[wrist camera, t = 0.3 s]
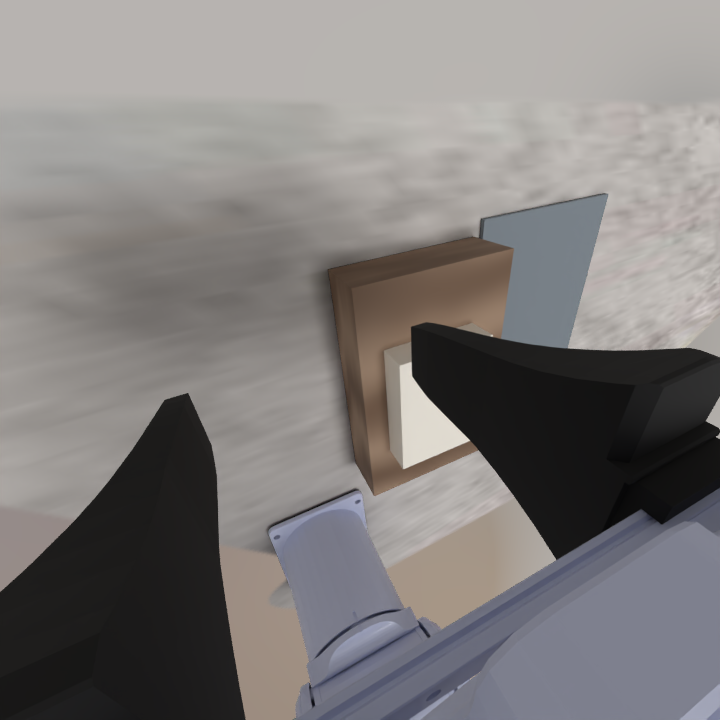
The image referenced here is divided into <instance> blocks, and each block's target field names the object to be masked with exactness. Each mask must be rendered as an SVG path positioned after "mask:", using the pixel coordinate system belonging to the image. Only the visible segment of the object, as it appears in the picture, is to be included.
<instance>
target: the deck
mask: <svg viewBox="0 0 720 720" xmlns="http://www.w3.org/2000/svg"><path fill="white" fill-rule="evenodd" d="M513 253H514V248H511V247H508V246H504V245H501V244H497V243H494V242H490V241H487V240H483V239H480V238H476V237H470V238H466V239H462V240H457V241H453V242H448V243H444V244H439V245H435V246H430V247H426V248H421V249H417V250H413V251H408V252H404V253H399V254H395V255H390V256H386V257H381V258H377V259H372V260H368V261H364V262H359V263H355V264H350V265H346V266H341V267H337V268H332V269H328V273H329V280H330V287H331V294H332V301H333V308H334V314H335V321H336V328H337V335H338V342H339V349H340V356H341V363H342V370H343V377H344V384H345V391H346V398H347V405H348V412H349V419H350V426H351V433H352V440H353V447H354V454H355V461H356V464H357V466H358V468H359V470H360V471H361V473H362V475H363V477H364V479H365V480H366V482H367V484H368V486H369V488H370V489H371V491H372V493H373V495H374V496H376V495H378V494H381V493H383V492H385V491H388V490H390V489H392V488H394V487H397V486H399V485H401V484H403V483H406V482H408V481H410V480H412V479H415V478H417V477H419V476H421V475H424V474H426V473H428V472H430V471H433V470H435V469H437V468H439V467H442V466H444V465H446V464H448V463H451V462H453V461H455V460H457V459H460V458H462V457H464V456H466V455H469V454H471V453H473V452H475V451H478V449H477V448H476V447H475V446H474V444H473V443H472V442H471V441H468V442H466V443H464V444H461V445H459V446H457V447H454V448H452V449H450V450H447V451H445V452H443V453H440V454H438V455H436V456H433V457H431V458H429V459H426V460H424V461H422V462H419V463H417V464H415V465H413V466H410V467H408V468H406V469H403V468H402V467H401V465H400V464H399V462H398V461H397V460H396V458H395V457H394V455H393V454H392V452H391V451H390V439H389V423H388V408H387V392H386V376H385V360H384V350H387V349H390V348H393V347H396V346H399V345H403V344H406V343H409V342H411V327H412V326H415V325H418V324H422V323H425V322H430V323H436V324H441V325H445V326H450V327H454V328H457V327H460V326H464V325H467V324H470V323H473V324H475V325H477V326H478V327H480V328H482V329H484V330H485V331H487V332H489V333H490V334H492V335H493V337H495V338H500V339H501V335H502V329H503V322H504V315H505V308H506V301H507V294H508V287H509V280H510V273H511V267H512V260H513Z"/></svg>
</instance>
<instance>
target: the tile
mask: <svg viewBox="0 0 720 720" xmlns="http://www.w3.org/2000/svg"><path fill="white" fill-rule="evenodd" d="M457 328H458V329H462V330H466V331H470V332H474V333H478V334H482V335H486V336H491V337H493V335H492V334H490V333H489V332H487V331H485V330H484V329H482V328H480V327H478V326H477V325H475V324H473V323H470V324H467V325H464V326H460V327H457ZM384 360H385V376H386V392H387V408H388V423H389V439H390V451H391V452H392V454H393V455H394V457H395V458H396V460H397V461H398V462H399V464H400V465H401V467H402V468H403V469H406V468H408V467H410V466H413V465H415V464H417V463H419V462H422V461H424V460H426V459H429V458H431V457H433V456H436V455H438V454H440V453H443V452H445V451H447V450H450V449H452V448H454V447H457V446H459V445H461V444H464V443H466V442H468V441H470V440H469V439H468V438H467V437H466V436H465V435H464V434H463V433H462V432H461V431H460V430H459V429H458V428H457V427H456V426H455V425H454V424H453V423H452V422H451V421H450V420H449V419H448V418H447V417H446V416H445V415H444V414H443V413H442V412H441V411H440V410H439V409H438V408H437V407H436V406H435V405H434V404H433V403H432V402H431V401H430V400H429V398H428V397H427V396H426V395H425V394H424V392H423V391H422V390H421V388H420V387H419V386H418V384H417V383H416V381H415V380H414V378H413V377H412V358H411V342H409V343H406V344H403V345H399V346H396V347H393V348H390V349H387V350H384Z"/></svg>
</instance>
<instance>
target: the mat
mask: <svg viewBox="0 0 720 720" xmlns="http://www.w3.org/2000/svg"><path fill="white" fill-rule="evenodd" d="M607 198H608V194H600V195H595V196H590V197H585V198H581V199H576V200H571V201H566V202H561V203H556V204H552V205H547V206H542V207H537V208H532V209H528V210H523V211H518V212H513V213H508V214H504V215H499V216H494V217H489V218H484V219H481V230H480V239H483V240H487V241H490V242H494V243H497V244H501V245H504V246H508V247H511V248H514V253H513V260H512V267H511V273H510V280H509V287H508V294H507V301H506V308H505V315H504V322H503V329H502V335H501V339H505V340H510V341H515V342H520V343H526V344H533V345H541V346H548V347H557V348H568V344H569V340H570V336H571V333H572V329H573V325H574V321H575V318H576V314H577V310H578V306H579V303H580V299H581V295H582V291H583V288H584V284H585V280H586V276H587V273H588V269H589V265H590V261H591V258H592V254H593V250H594V247H595V243H596V239H597V235H598V232H599V228H600V224H601V220H602V217H603V213H604V209H605V205H606V202H607Z"/></svg>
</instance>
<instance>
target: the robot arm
mask: <svg viewBox="0 0 720 720" xmlns="http://www.w3.org/2000/svg"><path fill="white" fill-rule="evenodd" d="M411 358H412V377H413V378H414V380H415V381H416V383H417V384H418V386H419V387H420V388H421V390H422V391H423V392H424V394H425V395H426V396H427V397H428V398H429V400H430V401H431V402H432V403H433V404H434V405H435V406H436V407H437V408H438V409H439V410H440V411H441V412H442V413H443V414H444V415H445V416H446V417H447V418H448V419H449V420H450V421H451V422H452V423H453V424H454V425H455V426H456V427H457V428H458V429H459V430H460V431H461V432H462V433H463V434H464V435H465V436H466V437H467V438H468V439H469V440H470V441H471V442H472V443H473V444H474V446H475V447H476V448H477V449H478V450H479V451H480V452H481V454H482V455H483V456H484V457H485V459H486V460H487V461H488V462H489V464H490V465H491V466H492V467H493V469H494V470H495V471H496V473H497V474H498V475H499V477H500V478H501V479H502V481H503V482H504V483H505V485H506V486H507V487H508V489H509V490H510V491H511V493H512V494H513V495H514V497H515V498H516V500H517V501H518V502H519V504H520V505H521V507H522V508H523V509H524V511H525V513H526V514H527V515H528V517H529V518H530V520H531V521H532V523H533V524H534V526H535V527H536V529H537V530H538V532H539V533H540V535H541V536H542V538H543V539H544V541H545V542H546V544H547V546H548V547H549V549H550V550H551V552H552V553H553V555H554V557H555V558H556V561H554V562H553V563H551V564H549V565H548V566H546V567H544V568H543V569H541V570H540V571H538V572H536V573H535V574H533V575H531V576H530V577H528V578H526V579H525V580H523V581H521V582H520V583H518V584H516V585H515V586H513V587H511V588H510V589H508V590H506V591H505V592H503V593H502V594H500V595H498V596H497V597H495V598H493V599H492V600H490V601H488V602H487V603H485V604H483V605H482V606H480V607H478V608H477V609H475V610H473V611H472V612H470V613H468V614H467V615H465V616H463V617H462V618H460V619H459V620H457V621H455V622H453V623H452V624H450V625H449V626H447V627H445V628H444V629H441V628H440V627H439V626H438V625H437V624H436V623H434V622H432V621H430V620H429V619H427V618H425V617H421V618H420V619H418V620H417V619H416V618H415V615H414V613H413V611H412V609H411V607H407V608H405V609H404V606H403V604H402V602H401V600H400V598H399V596H398V594H397V592H396V590H395V588H394V586H393V584H392V582H391V580H390V578H389V576H388V574H387V571H386V569H385V567H384V565H383V563H382V561H381V559H380V557H379V555H378V553H377V551H376V549H375V547H374V545H373V543H372V541H371V538H370V536H369V534H368V532H367V526H366V519H365V511H364V504H363V497H362V494H361V492H360V491H354V492H352V493H349V494H347V495H345V496H342V497H340V498H338V499H335V500H333V501H331V502H328V503H326V504H324V505H321V506H319V507H317V508H314V509H312V510H310V511H308V512H305V513H303V514H301V515H298V516H296V517H294V518H291V519H289V520H287V521H284V522H282V523H280V524H277V525H275V526H273V527H271V528H270V529H269V531H268V533H269V537H270V539H271V542H272V544H273V547H274V549H275V551H276V554H277V556H278V559H279V561H280V564H281V566H282V569H283V571H284V574H285V576H286V578H287V581H288V583H289V586H290V588H291V590H292V594H293V598H294V602H295V606H296V610H297V614H298V618H299V622H300V626H301V631H302V635H303V639H304V643H305V647H306V651H307V655H308V659H309V663H308V664H307V669H308V674H309V678H310V682H311V685H310V683H307V684H305V685H303V686H302V687H301V689H300V695H299V697H298V700H297V702H296V718H295V719H293V720H720V439H718V438H716V436H718V435H719V433H720V429H719V428H718V427H716V426H714V425H712V424H710V423H708V422H706V419H707V418H708V416H709V414H710V412H711V411H712V409H713V407H714V406H715V404H716V402H717V400H718V398H719V397H720V357H717V356H715V355H712V354H709V353H707V352H704V351H701V350H697V349H692V348H679V349H660V350H638V351H608V350H583V349H568V348H557V347H548V346H541V345H533V344H526V343H520V342H515V341H510V340H505V339H500V338H495V337H491V336H486V335H482V334H478V333H474V332H470V331H466V330H462V329H458V328H454V327H450V326H445V325H441V324H436V323H430V322H425V323H422V324H418V325H415V326H412V327H411ZM230 634H231V633H230V627H229V621H228V614H227V608H226V601H225V594H224V587H223V580H222V573H221V565H220V554H219V533H218V498H217V474H216V468H215V462H214V456H213V451H212V445H211V443H210V441H209V439H208V436H207V434H206V432H205V430H204V427H203V425H202V423H201V421H200V419H199V416H198V414H197V412H196V410H195V407H194V405H193V403H192V401H191V399H190V396H189V394H188V393H186V394H183V395H180V396H176V397H173V398H170V399H166V400H164V402H163V403H162V405H161V406H160V408H159V410H158V411H157V413H156V414H155V416H154V417H153V419H152V421H151V422H150V424H149V425H148V427H147V428H146V430H145V432H144V433H143V435H142V436H141V438H140V439H139V441H138V442H137V444H136V445H135V447H134V448H133V450H132V451H131V452H130V454H129V455H128V456H127V458H126V459H125V460H124V462H123V463H122V464H121V466H120V467H119V468H118V470H117V471H116V472H115V474H114V475H113V476H112V478H111V479H110V480H109V482H108V483H107V484H106V485H105V487H104V488H103V489H102V490H101V491H100V493H99V494H98V495H97V496H96V497H95V499H94V500H93V501H92V502H91V503H90V504H89V505H88V506H87V508H86V509H85V510H84V511H83V512H82V513H81V514H80V515H79V516H78V518H77V519H76V520H75V521H74V522H73V523H72V524H71V525H70V526H69V527H68V528H67V529H66V530H65V531H64V532H63V533H62V534H61V535H60V536H59V537H58V538H57V539H56V540H55V541H54V542H53V543H52V544H51V545H50V546H49V547H48V548H47V549H46V550H45V551H44V552H43V553H42V554H41V555H40V556H39V557H38V558H37V559H36V560H35V561H34V562H33V563H32V564H31V565H30V566H28V567H27V568H26V569H25V570H24V571H23V572H22V573H21V574H20V575H19V576H18V577H17V578H15V580H13V581H12V582H11V583H10V584H9V585H8V586H7V587H5V588H4V589H3V590H2V591H1V592H0V720H245V714H244V709H243V703H242V698H241V692H240V687H239V681H238V675H237V669H236V664H235V658H234V653H233V646H232V641H231V635H230ZM479 672H480V673H479ZM478 673H479V674H478ZM476 674H477V675H476ZM474 675H476V676H475V677H473V676H474ZM471 677H473V678H472V679H471V680H470V678H471ZM311 686H312V687H311Z"/></svg>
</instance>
